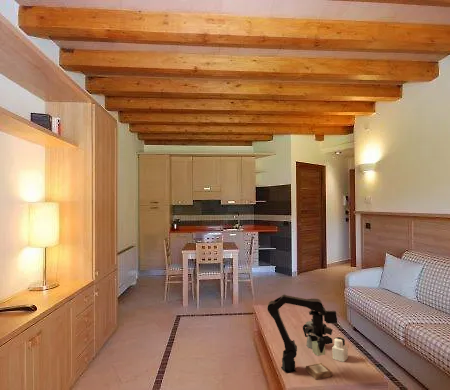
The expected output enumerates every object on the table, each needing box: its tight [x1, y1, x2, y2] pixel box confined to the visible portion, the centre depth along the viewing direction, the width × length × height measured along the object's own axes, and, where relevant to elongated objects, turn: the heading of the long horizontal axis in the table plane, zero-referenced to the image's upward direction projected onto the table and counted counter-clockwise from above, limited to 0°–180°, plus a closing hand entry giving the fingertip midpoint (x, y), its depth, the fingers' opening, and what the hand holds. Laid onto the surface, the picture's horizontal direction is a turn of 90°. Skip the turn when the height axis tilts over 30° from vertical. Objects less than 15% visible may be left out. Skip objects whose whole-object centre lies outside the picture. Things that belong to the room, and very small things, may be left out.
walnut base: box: [305, 362, 333, 380], centre depth 175 cm, size 10×10×3 cm
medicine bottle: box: [331, 336, 349, 363], centre depth 192 cm, size 7×7×12 cm
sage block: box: [311, 340, 326, 357], centre depth 177 cm, size 5×5×6 cm
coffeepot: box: [302, 318, 319, 350], centre depth 210 cm, size 15×9×18 cm, turn 119°
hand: (318, 350), depth 177 cm, fingers closed on sage block, 5 cm apart
